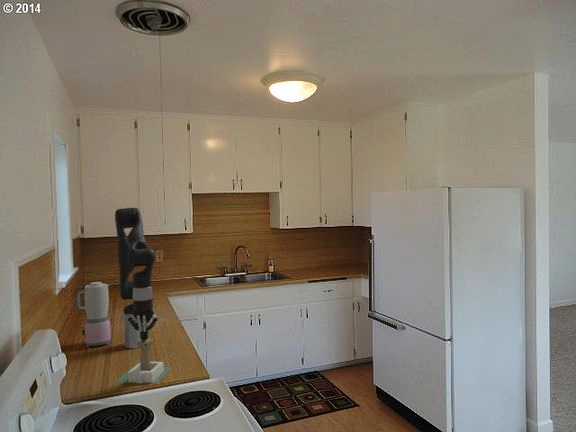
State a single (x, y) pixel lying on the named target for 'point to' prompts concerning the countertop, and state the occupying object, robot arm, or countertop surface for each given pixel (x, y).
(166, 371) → the board
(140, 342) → the handle
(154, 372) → the socket
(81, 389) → the countertop surface
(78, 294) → the blender
